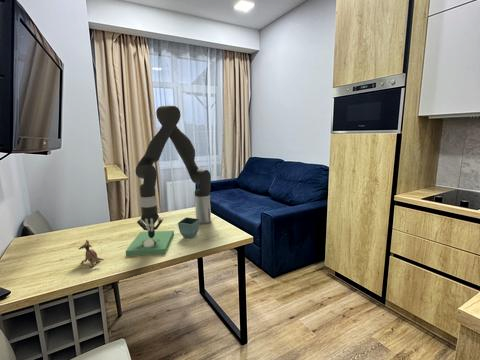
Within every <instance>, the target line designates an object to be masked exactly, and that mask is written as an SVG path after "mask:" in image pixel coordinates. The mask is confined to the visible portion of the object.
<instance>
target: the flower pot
mask: <svg viewBox="0 0 480 360" xmlns="http://www.w3.org/2000/svg"><path fill="white" fill-rule="evenodd" d="M199 222H200V219H196V217H187V216H186V217H184V218H183V219H180V221H178V222H177V226H178V230H179V233H180V235H181V236H182V238H187V239H193V238H194V237H195V236H196V235H197V234H198V231H199V229H200V224H199Z"/></svg>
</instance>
